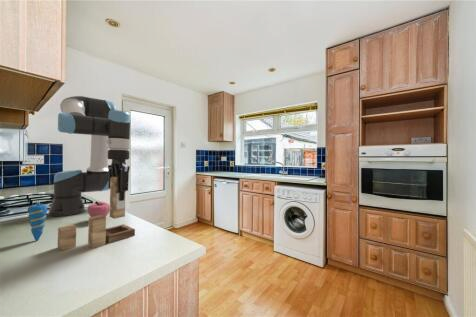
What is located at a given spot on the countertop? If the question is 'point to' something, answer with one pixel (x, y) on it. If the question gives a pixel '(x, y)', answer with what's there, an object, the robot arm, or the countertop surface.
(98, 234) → the medium pin
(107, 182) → the robot arm
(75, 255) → the countertop surface
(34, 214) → the ornament
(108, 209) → the apple
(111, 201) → the long pin
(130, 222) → the countertop surface
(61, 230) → the short pin
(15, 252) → the countertop surface
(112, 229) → the collar block
